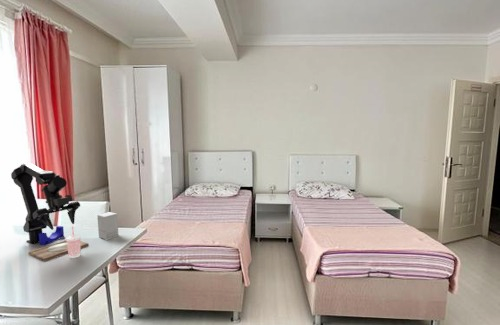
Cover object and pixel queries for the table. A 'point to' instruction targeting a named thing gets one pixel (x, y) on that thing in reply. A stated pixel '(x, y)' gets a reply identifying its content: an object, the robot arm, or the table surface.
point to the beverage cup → (73, 245)
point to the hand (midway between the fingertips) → (63, 226)
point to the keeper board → (53, 250)
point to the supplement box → (107, 225)
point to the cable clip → (51, 236)
